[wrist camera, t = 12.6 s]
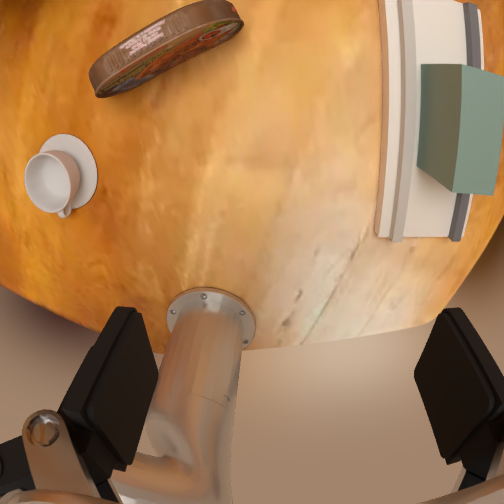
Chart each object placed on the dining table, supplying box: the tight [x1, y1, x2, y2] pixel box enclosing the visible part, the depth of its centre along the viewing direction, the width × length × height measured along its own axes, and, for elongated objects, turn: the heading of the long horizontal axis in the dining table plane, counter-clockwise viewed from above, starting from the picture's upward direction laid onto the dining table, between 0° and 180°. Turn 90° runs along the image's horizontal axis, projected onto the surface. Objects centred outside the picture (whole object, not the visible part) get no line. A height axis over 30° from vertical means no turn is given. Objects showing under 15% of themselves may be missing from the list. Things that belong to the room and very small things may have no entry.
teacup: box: [24, 134, 97, 218], centre depth 32 cm, size 10×10×5 cm
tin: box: [89, 0, 244, 98], centre depth 23 cm, size 15×3×8 cm, turn 113°
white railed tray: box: [374, 0, 484, 242], centre depth 27 cm, size 28×12×3 cm, turn 3°
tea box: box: [416, 64, 504, 196], centre depth 23 cm, size 5×11×8 cm, turn 3°
